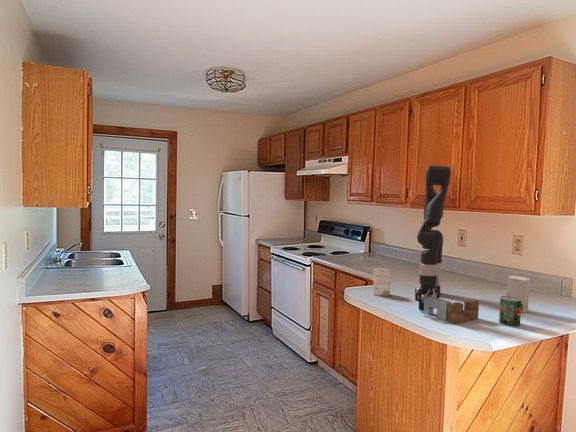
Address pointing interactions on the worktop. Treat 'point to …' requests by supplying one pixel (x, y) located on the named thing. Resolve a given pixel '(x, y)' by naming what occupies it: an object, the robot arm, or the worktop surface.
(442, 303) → the grey tall rectangular block
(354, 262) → the worktop surface
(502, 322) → the canned tomato
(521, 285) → the skincare box
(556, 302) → the worktop surface
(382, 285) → the ink box
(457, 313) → the wooden u-shaped brace
